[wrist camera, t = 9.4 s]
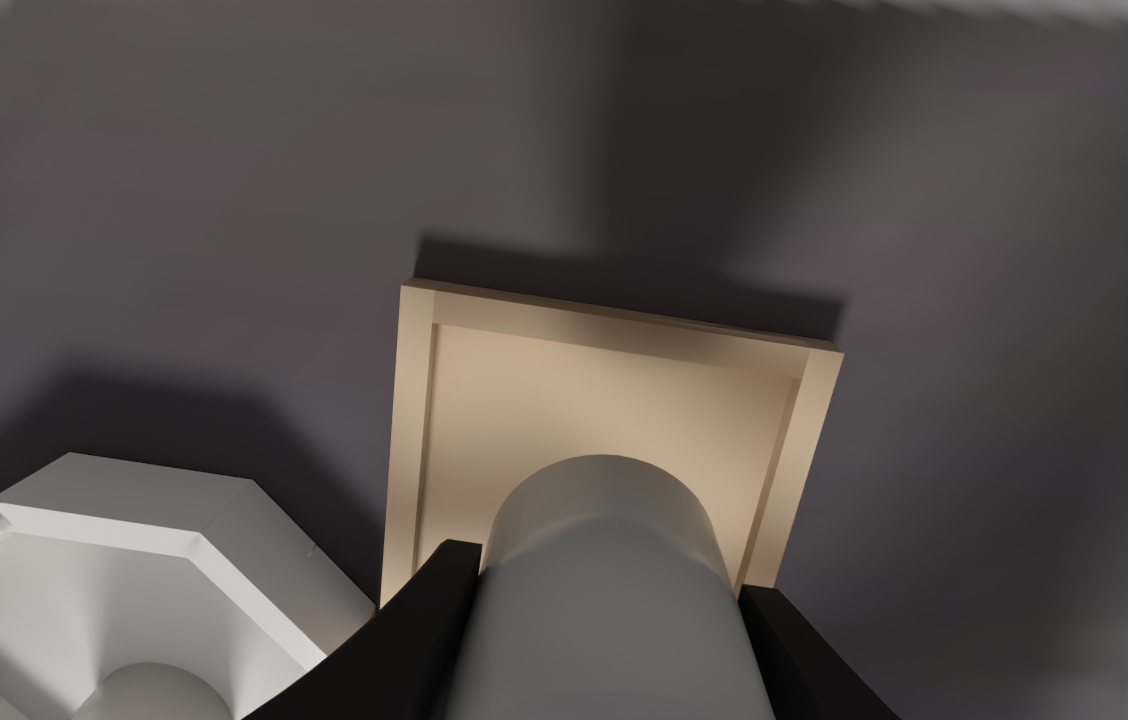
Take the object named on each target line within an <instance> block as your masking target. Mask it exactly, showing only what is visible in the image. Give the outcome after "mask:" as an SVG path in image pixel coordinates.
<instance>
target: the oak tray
mask: <svg viewBox="0 0 1128 720" xmlns="http://www.w3.org/2000/svg"><path fill="white" fill-rule="evenodd" d="M843 357H844V353H843V352H842V351H841V350H840V349H839V348H838V347H836V346H835V345H834V344H833V343H832V342H830V341H827V340H820V339H814V338H807V337H801V336H794V335H788V334H781V333H775V332H768V331H762V330H755V329H748V328H742V327H735V326H729V325H722V324H716V323H709V322H703V321H696V320H690V319H683V318H677V317H670V316H664V315H657V314H651V313H644V312H638V311H631V310H625V309H618V308H612V307H605V306H599V305H592V304H586V303H579V302H573V301H566V300H560V299H553V298H546V297H540V296H533V295H527V294H520V293H514V292H507V291H501V290H494V289H488V288H481V287H475V286H468V285H462V284H455V283H449V282H442V281H436V280H429V279H423V278H416V277H412V278H410V279H409V280H408V281H406V282H405V283H404V284H402V285H401V295H400V310H399V326H398V341H397V356H396V372H395V387H394V402H393V417H392V433H391V448H390V463H389V478H388V494H387V509H386V524H385V539H384V555H383V570H382V585H381V600H380V609H381V608H382V607H383V606H384V605H385V604H386V603H387V602H388V601H389V600H390V599H391V598H392V597H393V596H394V595H395V594H396V593H397V592H398V591H399V590H400V589H401V588H402V587H403V586H404V585H405V584H406V583H407V582H408V581H409V580H410V579H411V578H412V576H413V575H414V574H415V573H416V572H417V571H418V570H419V569H420V568H421V567H422V565H423V564H424V563H425V562H426V561H427V560H428V558H429V557H430V556H431V555H432V554H433V552H434V551H435V550H436V549H437V547H438V546H439V545H440V543H442V542H443V541H445V540H446V539H453V540H460V541H466V542H473V543H479V544H483V545H482V553H481V561H480V569H481V565H482V561H483V557H484V553H485V550H486V546H487V542H488V538H489V535H490V531H491V528H492V525H493V522H494V519H495V517H496V515H497V513H498V511H499V509H500V507H501V505H502V504H503V503H504V501H505V500H506V498H507V497H508V496H509V494H510V493H511V492H512V491H513V490H514V489H515V488H516V487H517V486H518V485H519V484H520V483H522V482H523V481H524V480H525V479H527V478H528V477H529V476H531V475H532V474H534V473H536V472H537V471H539V470H541V469H542V468H544V467H547V466H549V465H551V464H553V463H556V462H558V461H562V460H565V459H569V458H572V457H578V456H584V455H597V454H608V455H620V456H625V457H630V458H635V459H638V460H641V461H644V462H648V463H650V464H652V465H655V466H657V467H659V468H661V469H663V470H665V471H666V472H668V473H670V474H671V475H673V476H674V477H676V478H677V479H678V480H680V481H681V482H682V483H683V484H684V485H686V486H687V487H688V488H689V489H690V490H691V491H692V492H693V494H694V495H695V496H696V497H697V498H698V499H699V501H700V502H701V504H702V505H703V507H704V508H705V510H706V512H707V514H708V516H709V518H710V520H711V523H712V526H713V529H714V532H715V535H716V538H717V541H718V544H719V547H720V550H721V553H722V556H723V559H724V562H725V566H726V569H727V572H728V575H729V578H730V581H731V584H732V587H733V590H734V593H735V596H736V599H737V600H738V596H739V593H740V589H741V586H742V584H748V585H755V586H762V587H768V588H773V586H774V583H775V580H776V577H777V573H778V570H779V567H780V563H781V560H782V557H783V554H784V550H785V547H786V544H787V540H788V537H789V534H790V531H791V527H792V524H793V521H794V517H795V514H796V511H797V508H798V504H799V501H800V498H801V494H802V491H803V488H804V485H805V481H806V478H807V475H808V471H809V468H810V465H811V462H812V458H813V455H814V452H815V448H816V445H817V442H818V439H819V435H820V432H821V429H822V425H823V422H824V419H825V416H826V412H827V409H828V406H829V402H830V399H831V396H832V393H833V389H834V386H835V383H836V380H837V376H838V373H839V370H840V366H841V363H842V360H843ZM480 569H479V572H480Z"/></svg>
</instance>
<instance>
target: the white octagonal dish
mask: <svg viewBox="0 0 1128 720" xmlns="http://www.w3.org/2000/svg"><path fill="white" fill-rule="evenodd" d="M375 609H376V606H375V604H374V603H373V602H372V601H371V600H370V599H369V598H368V597H367V596H366V595H365V594H364V593H363V592H362V591H361V590H360V589H359V588H358V587H357V586H356V585H355V584H354V583H353V582H352V581H351V580H350V579H349V578H348V577H347V576H346V575H345V573H344V572H343V571H342V570H341V569H340V568H339V567H338V566H337V565H336V564H335V563H334V562H333V561H332V560H331V559H330V558H329V557H328V556H327V555H326V554H325V553H324V552H323V551H322V550H321V549H320V548H319V547H318V546H317V545H316V544H315V543H314V542H313V541H312V540H311V539H310V538H309V537H308V536H307V535H306V534H305V533H304V532H303V531H302V530H301V529H300V528H299V526H298V525H297V524H296V523H295V522H294V521H293V520H292V519H291V518H290V517H289V516H288V515H287V514H286V513H285V512H284V511H283V510H282V509H281V508H280V507H279V506H278V505H277V504H276V503H275V502H274V501H273V500H272V499H271V498H270V497H269V496H268V495H267V494H266V493H265V492H264V491H263V490H262V489H261V488H260V487H259V486H258V485H257V484H256V483H255V482H254V480H251V479H244V478H238V477H231V476H225V475H218V474H211V473H205V472H198V471H191V470H185V469H178V468H171V467H165V466H158V465H152V464H145V463H138V462H132V461H125V460H118V459H112V458H105V457H99V456H92V455H85V454H79V453H72V452H69V453H67V454H65V455H64V456H62V457H60V458H59V459H57V460H55V461H54V462H52V463H50V464H48V465H47V466H45V467H43V468H42V469H40V470H38V471H37V472H35V473H33V474H32V475H30V476H28V477H27V478H25V479H23V480H21V481H20V482H18V483H16V484H15V485H13V486H11V487H10V488H8V489H6V490H5V491H3V492H1V493H0V720H68V719H69V718H70V717H71V715H72V714H73V713H74V712H75V711H76V710H77V709H78V708H79V707H80V706H81V705H82V703H83V702H84V701H85V700H86V699H87V698H88V697H89V696H90V695H91V694H92V692H93V691H94V690H95V689H96V688H97V687H98V686H99V685H100V684H101V683H102V681H103V680H104V679H105V678H106V677H107V676H108V675H110V674H111V673H112V672H114V671H115V670H117V669H119V668H121V667H124V666H127V665H131V664H136V663H148V662H150V663H161V664H167V665H171V666H175V667H178V668H181V669H183V670H186V671H188V672H190V673H192V674H194V675H196V676H197V677H199V678H201V679H202V680H204V681H205V682H206V683H208V684H209V685H210V686H211V687H212V688H214V689H215V690H216V691H217V692H218V694H219V695H220V696H221V697H222V698H223V700H224V701H225V703H226V704H227V706H228V708H229V710H230V712H231V715H232V719H233V720H241V719H242V718H244V717H245V716H247V715H248V714H250V713H251V712H253V711H254V710H255V709H257V708H258V707H260V706H261V705H263V704H264V703H266V702H267V701H269V700H270V699H272V698H273V697H275V696H276V695H278V694H279V693H280V692H282V691H283V690H285V689H286V688H287V687H289V686H290V685H291V684H293V683H294V682H295V681H297V680H298V679H299V678H301V677H302V676H303V675H305V674H306V673H307V672H309V671H310V670H311V669H313V668H314V667H315V666H316V665H318V664H319V663H320V662H321V661H323V660H324V659H325V658H326V657H327V656H329V655H330V654H331V653H332V652H334V651H335V650H336V649H337V648H338V647H340V646H341V645H342V644H343V643H344V642H345V641H346V640H347V639H348V638H350V637H351V636H352V635H353V634H354V633H355V632H356V631H357V630H359V629H360V628H361V627H362V626H363V625H364V624H365V623H366V622H368V621H369V620H370V619H371V618H372V617H373V616H374V615H375Z"/></svg>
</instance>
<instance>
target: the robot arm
mask: <svg viewBox="0 0 1128 720" xmlns="http://www.w3.org/2000/svg"><path fill="white" fill-rule="evenodd" d="M482 545H483V544H479V543H473V542H466V541H460V540H453V539H446V540H445V541H443V542H442V543H440V545H439V546H438V547H437V549H436V550H435V551H434V552H433V554H432V555H431V556H430V557H429V558H428V560H427V561H426V562H425V563H424V564H423V565H422V567H421V568H420V569H419V570H418V571H417V572H416V573H415V574H414V575H413V576H412V578H411V579H410V580H409V581H408V582H407V583H406V584H405V585H404V586H403V587H402V588H401V589H400V590H399V591H398V592H397V593H396V594H395V595H394V596H393V597H392V598H391V599H390V600H389V601H388V602H387V603H386V604H385V605H384V606H383V607H382V608H381V609H380V610H379V611H378V612H377V613H376V614H375V615H374V616H373V617H372V618H371V619H370V620H369V621H368V622H366V623H365V624H364V625H363V626H362V627H361V628H360V629H359V630H357V631H356V632H355V633H354V634H353V635H352V636H351V637H350V638H348V639H347V640H346V641H345V642H344V643H343V644H342V645H341V646H340V647H338V648H337V649H336V650H335V651H334V652H332V653H331V654H330V655H329V656H327V657H326V658H325V659H324V660H323V661H321V662H320V663H319V664H318V665H316V666H315V667H314V668H313V669H311V670H310V671H309V672H307V673H306V674H305V675H303V676H302V677H301V678H299V679H298V680H297V681H295V682H294V683H293V684H291V685H290V686H289V687H287V688H286V689H285V690H283V691H282V692H280V693H279V694H278V695H276V696H275V697H273V698H272V699H270V700H269V701H267V702H266V703H264V704H263V705H261V706H260V707H258V708H257V709H255V710H254V711H253V712H251V713H250V714H248V715H247V716H245V717H244V718H242V719H241V720H441V716H442V712H443V708H444V704H445V701H446V697H447V693H448V689H449V686H450V682H451V678H452V674H453V670H454V667H455V663H456V659H457V655H458V652H459V648H460V644H461V640H462V636H463V633H464V629H465V625H466V621H467V618H468V614H469V611H470V607H471V603H472V599H473V595H474V592H475V588H476V584H477V580H478V577H479V569H480V561H481V553H482ZM737 602H738V606H739V609H740V612H741V615H742V618H743V621H744V624H745V627H746V630H747V633H748V636H749V639H750V642H751V646H752V649H753V652H754V655H755V658H756V661H757V664H758V667H759V670H760V673H761V676H762V679H763V682H764V685H765V689H766V692H767V695H768V698H769V701H770V704H771V707H772V710H773V713H774V716H775V719H776V720H901V719H900V718H899V717H898V716H897V715H896V714H895V713H894V712H893V711H892V710H891V709H890V708H889V707H888V706H887V705H886V704H885V703H884V702H883V701H882V700H881V699H880V698H879V697H878V696H877V695H876V694H875V693H874V692H873V691H872V690H871V689H870V688H869V687H868V686H867V685H866V684H865V683H864V682H863V681H862V680H861V679H860V678H859V677H858V676H857V674H856V673H855V672H854V671H853V670H852V669H851V668H850V667H849V666H848V665H847V664H846V663H845V662H844V661H843V660H842V658H841V657H840V656H839V655H838V654H837V653H836V652H835V651H834V650H833V649H832V648H831V646H830V645H829V644H828V643H827V642H826V641H825V640H824V639H823V638H822V637H821V635H820V634H819V633H818V632H817V631H816V630H815V629H814V628H813V627H812V625H811V624H810V623H809V622H808V621H807V620H806V619H805V618H804V617H803V616H802V614H801V613H800V612H799V611H798V610H797V609H796V608H795V607H794V606H793V605H792V604H791V602H790V601H789V600H788V599H787V598H786V597H785V596H784V595H783V594H782V593H781V592H780V591H779V590H778V589H775V588H768V587H762V586H755V585H748V584H742V586H741V589H740V593H739V596H738V600H737Z"/></svg>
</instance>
